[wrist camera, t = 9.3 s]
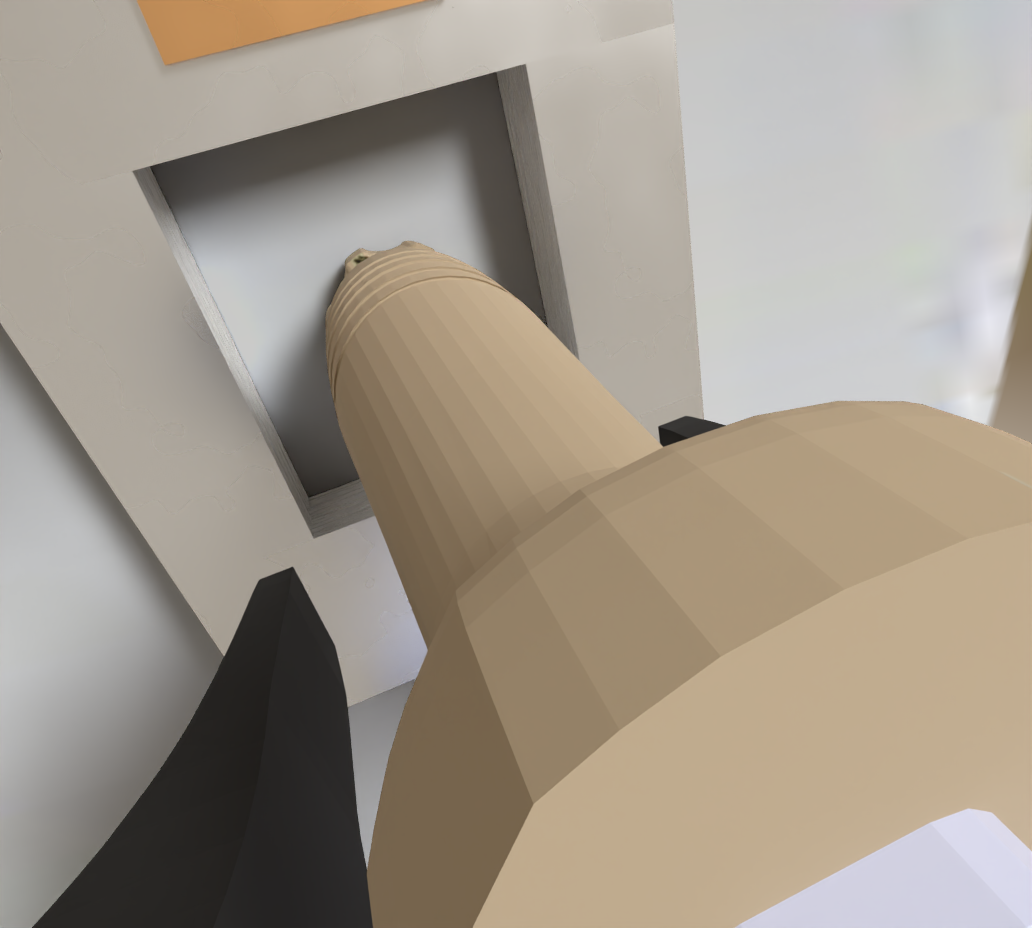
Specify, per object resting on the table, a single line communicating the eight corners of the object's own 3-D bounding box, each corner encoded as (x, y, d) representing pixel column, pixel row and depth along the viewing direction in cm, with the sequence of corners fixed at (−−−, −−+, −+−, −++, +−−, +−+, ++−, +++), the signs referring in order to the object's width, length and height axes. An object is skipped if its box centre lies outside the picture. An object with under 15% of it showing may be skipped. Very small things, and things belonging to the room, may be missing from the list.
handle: (471, 148, 15) (1414, 386, 3) (500, 403, 19) (1000, 1033, 6) (252, 177, 14) (232, 790, 2) (324, 443, 17) (497, 1316, 5)
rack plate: (680, 518, 23) (717, 555, 21) (276, 684, 21) (278, 742, 19) (589, -339, 12) (647, -416, 10) (-278, -194, 10) (-399, -260, 8)
